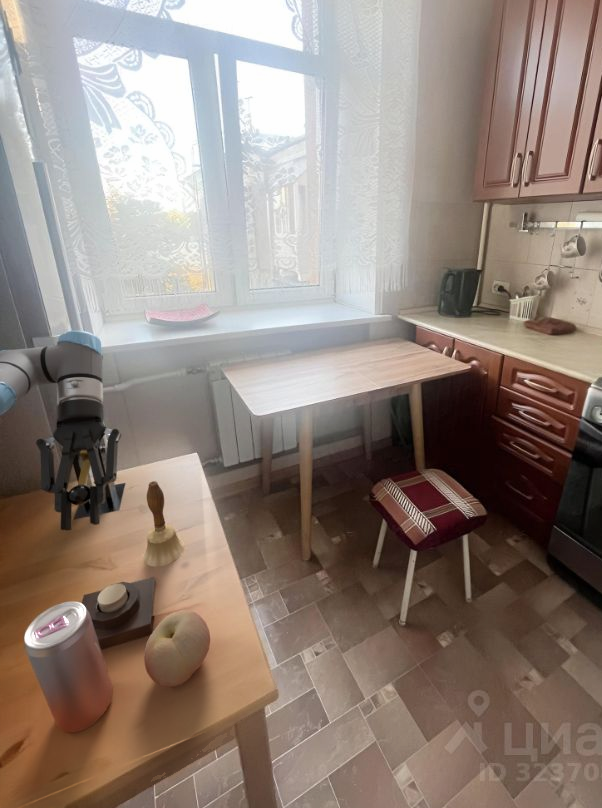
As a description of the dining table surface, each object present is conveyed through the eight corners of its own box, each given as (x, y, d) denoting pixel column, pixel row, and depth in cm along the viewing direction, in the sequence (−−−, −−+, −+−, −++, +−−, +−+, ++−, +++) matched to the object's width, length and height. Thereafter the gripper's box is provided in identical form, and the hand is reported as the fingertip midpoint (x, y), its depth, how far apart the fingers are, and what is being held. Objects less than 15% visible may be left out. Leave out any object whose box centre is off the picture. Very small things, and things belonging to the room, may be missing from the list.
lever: (92, 506, 72) (87, 494, 69) (69, 511, 70) (63, 498, 68) (102, 452, 82) (98, 439, 80) (82, 455, 81) (77, 442, 79)
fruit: (142, 662, 54) (132, 621, 51) (201, 628, 59) (194, 589, 56) (158, 713, 49) (148, 671, 46) (221, 671, 54) (215, 630, 51)
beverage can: (52, 706, 49) (18, 622, 44) (106, 671, 53) (81, 590, 47) (62, 748, 45) (25, 662, 40) (120, 708, 49) (94, 624, 44)
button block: (72, 659, 54) (65, 639, 53) (86, 604, 62) (80, 586, 61) (152, 634, 58) (148, 615, 57) (156, 586, 66) (153, 568, 64)
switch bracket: (120, 515, 81) (105, 453, 76) (74, 524, 78) (55, 461, 73) (126, 487, 90) (113, 430, 84) (85, 494, 87) (69, 435, 81)
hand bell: (184, 533, 77) (172, 464, 71) (194, 561, 71) (182, 488, 65) (136, 550, 73) (120, 478, 67) (142, 582, 66) (125, 505, 60)
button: (97, 616, 57) (95, 607, 56) (102, 596, 60) (99, 587, 59) (126, 608, 58) (124, 599, 57) (129, 589, 61) (127, 580, 60)
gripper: (19, 403, 71) (11, 537, 63) (124, 392, 77) (129, 513, 69) (37, 417, 78) (32, 540, 70) (132, 405, 84) (138, 517, 76)
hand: (80, 526), depth 70 cm, fingers closed on lever, 4 cm apart
